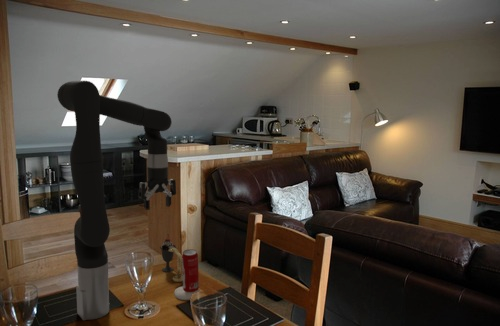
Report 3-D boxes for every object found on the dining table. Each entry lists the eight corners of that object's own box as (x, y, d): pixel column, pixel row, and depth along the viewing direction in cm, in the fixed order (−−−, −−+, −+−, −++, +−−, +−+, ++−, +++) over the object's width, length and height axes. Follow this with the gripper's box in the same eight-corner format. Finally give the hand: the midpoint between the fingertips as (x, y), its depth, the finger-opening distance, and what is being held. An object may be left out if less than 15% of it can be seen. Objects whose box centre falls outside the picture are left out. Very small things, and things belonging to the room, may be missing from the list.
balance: (182, 287, 150) (182, 257, 149) (165, 275, 160) (165, 247, 159) (193, 283, 154) (193, 254, 152) (176, 272, 164) (176, 245, 162)
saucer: (182, 302, 139) (182, 299, 139) (170, 293, 146) (170, 290, 145) (204, 295, 145) (204, 292, 144) (191, 286, 151) (191, 283, 151)
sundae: (170, 265, 171) (170, 232, 168) (178, 270, 165) (178, 236, 163) (156, 269, 166) (156, 234, 164) (164, 274, 161) (164, 239, 159)
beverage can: (200, 286, 149) (200, 248, 146) (196, 294, 142) (196, 255, 140) (184, 285, 149) (185, 247, 147) (180, 293, 143) (180, 254, 141)
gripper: (144, 168, 139) (144, 213, 142) (179, 165, 149) (179, 207, 151) (135, 165, 145) (135, 208, 147) (169, 162, 154) (169, 203, 156)
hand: (157, 207), depth 149 cm, fingers open, 8 cm apart
